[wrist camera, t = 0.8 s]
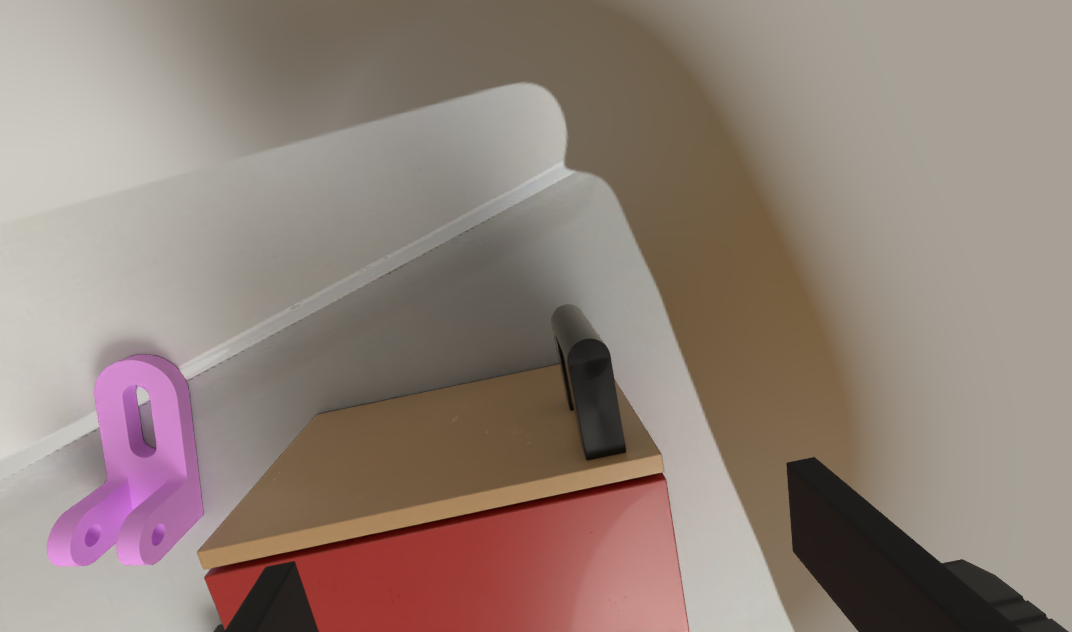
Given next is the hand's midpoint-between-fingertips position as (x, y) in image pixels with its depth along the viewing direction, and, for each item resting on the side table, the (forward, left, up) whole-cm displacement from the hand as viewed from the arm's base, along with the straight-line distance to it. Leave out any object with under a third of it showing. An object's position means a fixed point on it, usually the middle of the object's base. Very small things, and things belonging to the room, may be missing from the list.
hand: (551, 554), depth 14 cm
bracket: (+3, -29, -26) cm, 39 cm away
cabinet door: (+1, -6, -26) cm, 26 cm away
